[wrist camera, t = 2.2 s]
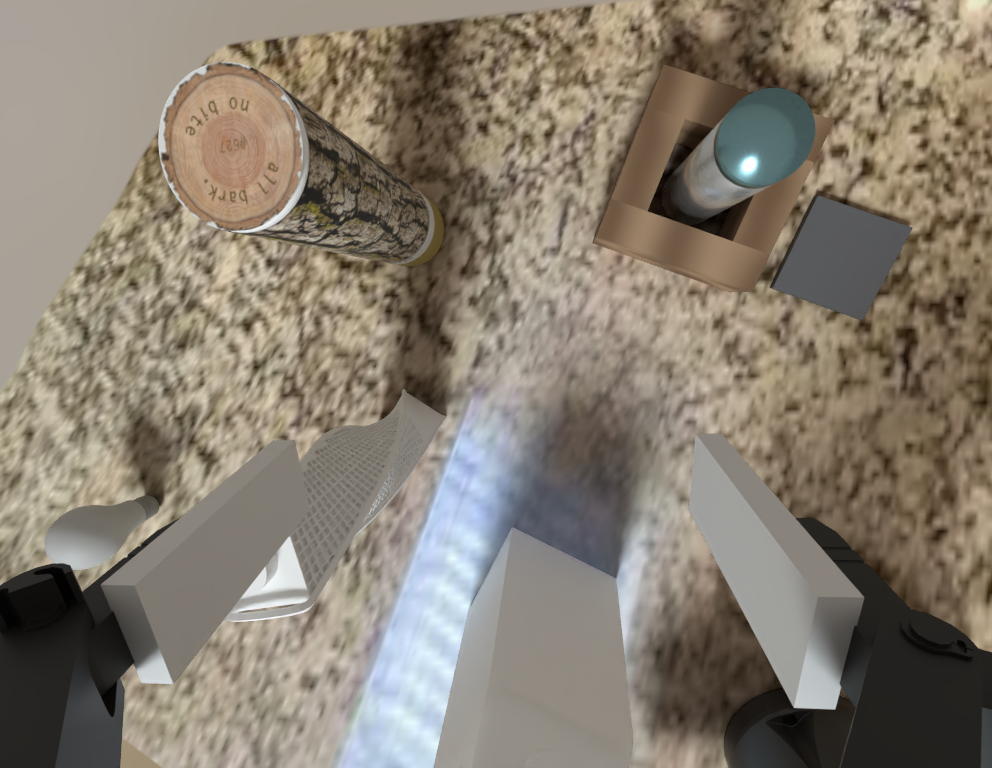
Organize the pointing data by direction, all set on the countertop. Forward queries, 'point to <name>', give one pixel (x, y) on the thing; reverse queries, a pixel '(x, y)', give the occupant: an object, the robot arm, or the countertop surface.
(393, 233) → the bark-print cylinder
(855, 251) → the mat
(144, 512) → the lightbulb
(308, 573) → the skyscraper
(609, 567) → the countertop surface
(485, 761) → the milk
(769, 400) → the countertop surface
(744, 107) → the teal-capped metal cylinder
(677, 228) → the housing
